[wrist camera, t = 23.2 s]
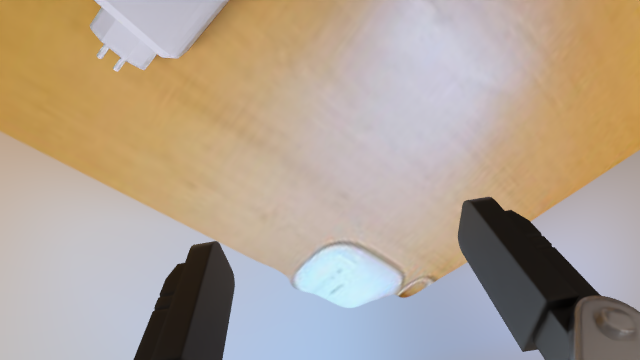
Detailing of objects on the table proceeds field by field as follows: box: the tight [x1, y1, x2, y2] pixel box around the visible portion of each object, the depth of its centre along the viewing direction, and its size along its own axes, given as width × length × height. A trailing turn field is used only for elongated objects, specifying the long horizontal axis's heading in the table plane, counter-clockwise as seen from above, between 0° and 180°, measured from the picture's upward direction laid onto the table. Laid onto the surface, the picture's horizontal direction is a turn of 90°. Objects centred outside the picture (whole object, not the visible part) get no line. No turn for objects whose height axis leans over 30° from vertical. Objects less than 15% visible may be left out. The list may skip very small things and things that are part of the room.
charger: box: [90, 0, 229, 71], centre depth 29 cm, size 5×9×15 cm
